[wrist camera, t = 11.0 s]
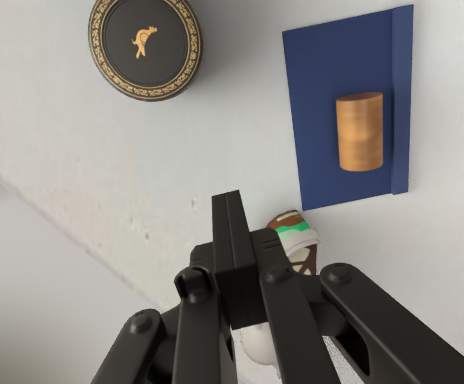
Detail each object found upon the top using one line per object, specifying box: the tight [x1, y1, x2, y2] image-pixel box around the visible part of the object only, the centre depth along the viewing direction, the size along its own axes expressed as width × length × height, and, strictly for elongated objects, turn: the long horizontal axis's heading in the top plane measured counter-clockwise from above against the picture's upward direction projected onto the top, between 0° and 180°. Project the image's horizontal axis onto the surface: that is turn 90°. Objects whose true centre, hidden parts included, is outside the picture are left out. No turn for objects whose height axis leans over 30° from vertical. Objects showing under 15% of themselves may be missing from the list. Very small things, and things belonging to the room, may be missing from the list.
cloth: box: [282, 4, 414, 211], centre depth 38 cm, size 22×14×1 cm, turn 11°
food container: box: [266, 210, 321, 275], centre depth 39 cm, size 12×6×10 cm, turn 4°
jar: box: [88, 0, 205, 102], centre depth 30 cm, size 10×10×8 cm
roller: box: [336, 92, 383, 171], centre depth 36 cm, size 8×5×5 cm
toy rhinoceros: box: [241, 322, 281, 379], centre depth 45 cm, size 7×12×8 cm, turn 32°
